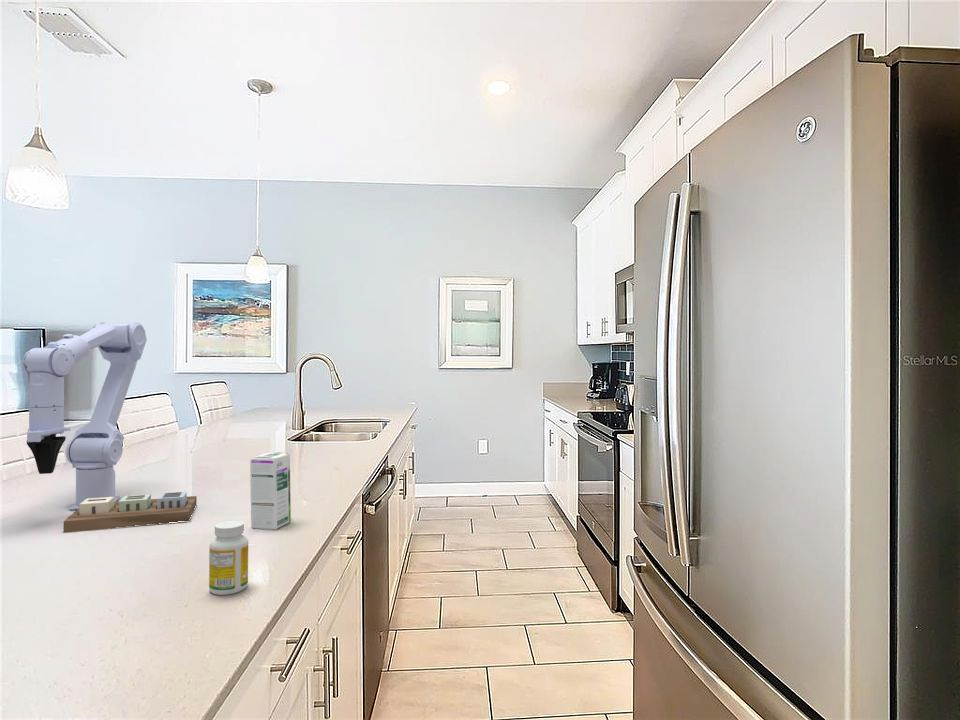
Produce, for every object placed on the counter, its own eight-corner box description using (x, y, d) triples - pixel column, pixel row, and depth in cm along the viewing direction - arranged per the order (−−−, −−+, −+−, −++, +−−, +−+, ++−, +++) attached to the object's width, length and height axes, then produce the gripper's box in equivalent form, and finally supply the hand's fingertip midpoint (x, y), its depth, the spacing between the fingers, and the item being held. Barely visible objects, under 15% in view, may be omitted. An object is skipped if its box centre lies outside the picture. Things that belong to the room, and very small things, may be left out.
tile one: (86, 515, 123) (86, 497, 123) (113, 512, 125) (113, 495, 125) (79, 521, 118) (79, 503, 118) (107, 519, 120) (107, 501, 120)
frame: (84, 513, 127) (84, 503, 127) (196, 505, 134) (196, 495, 134) (63, 532, 114) (63, 521, 114) (188, 521, 121) (188, 511, 121)
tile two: (124, 512, 126) (124, 495, 126) (151, 510, 127) (151, 493, 127) (118, 518, 121) (118, 500, 121) (146, 516, 122) (146, 498, 122)
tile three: (161, 509, 128) (161, 492, 128) (186, 507, 130) (186, 491, 130) (157, 515, 123) (157, 498, 123) (183, 513, 125) (183, 496, 125)
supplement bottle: (219, 599, 83) (219, 532, 83) (202, 589, 87) (202, 524, 87) (255, 587, 87) (255, 523, 87) (237, 578, 91) (237, 517, 91)
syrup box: (276, 530, 116) (276, 457, 116) (249, 528, 117) (249, 456, 117) (291, 522, 121) (291, 452, 121) (265, 520, 123) (265, 451, 123)
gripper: (58, 408, 114) (57, 478, 114) (80, 403, 127) (80, 465, 127) (14, 409, 111) (13, 480, 111) (41, 404, 125) (41, 467, 125)
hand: (46, 473), depth 119 cm, fingers closed
